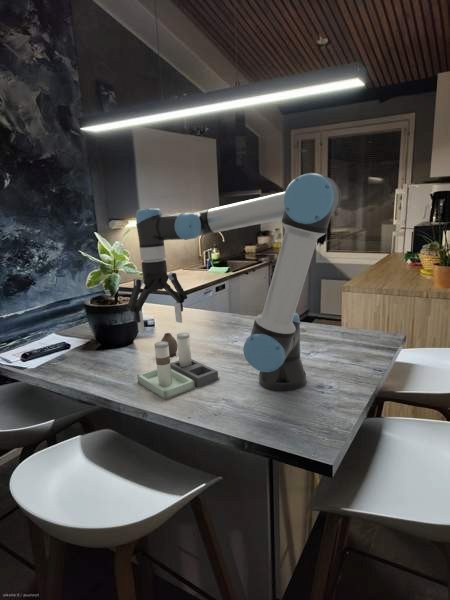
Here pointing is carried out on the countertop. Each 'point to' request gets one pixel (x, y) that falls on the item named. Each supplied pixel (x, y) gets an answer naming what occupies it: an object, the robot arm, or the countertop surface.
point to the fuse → (184, 350)
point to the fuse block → (197, 372)
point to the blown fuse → (163, 363)
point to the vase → (170, 343)
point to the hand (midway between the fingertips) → (161, 326)
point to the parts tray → (176, 388)
